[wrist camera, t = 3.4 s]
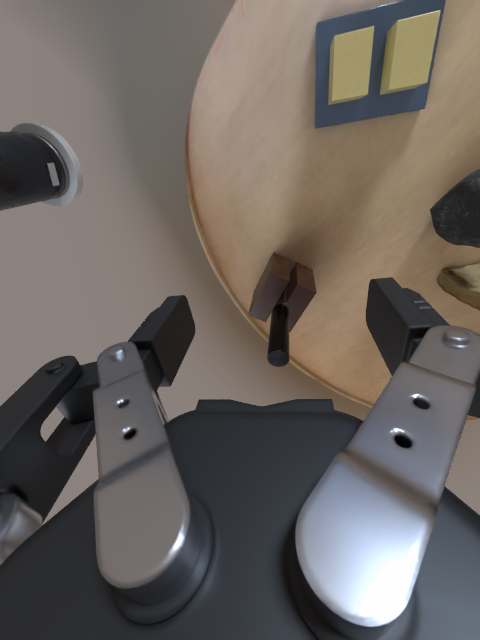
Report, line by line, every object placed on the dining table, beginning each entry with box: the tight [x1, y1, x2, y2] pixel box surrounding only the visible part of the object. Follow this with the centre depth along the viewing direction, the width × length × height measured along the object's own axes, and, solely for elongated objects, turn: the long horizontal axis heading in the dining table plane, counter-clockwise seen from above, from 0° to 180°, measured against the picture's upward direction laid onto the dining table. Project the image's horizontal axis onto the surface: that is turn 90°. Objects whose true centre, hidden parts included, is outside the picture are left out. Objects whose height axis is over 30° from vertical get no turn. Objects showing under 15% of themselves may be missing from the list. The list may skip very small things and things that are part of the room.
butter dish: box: [315, 0, 445, 129], centre depth 29 cm, size 12×9×1 cm
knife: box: [267, 286, 289, 367], centre depth 37 cm, size 2×3×20 cm
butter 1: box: [328, 26, 374, 105], centre depth 28 cm, size 4×5×3 cm
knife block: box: [249, 252, 316, 332], centre depth 42 cm, size 7×8×8 cm
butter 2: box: [380, 10, 440, 95], centre depth 26 cm, size 4×5×3 cm
